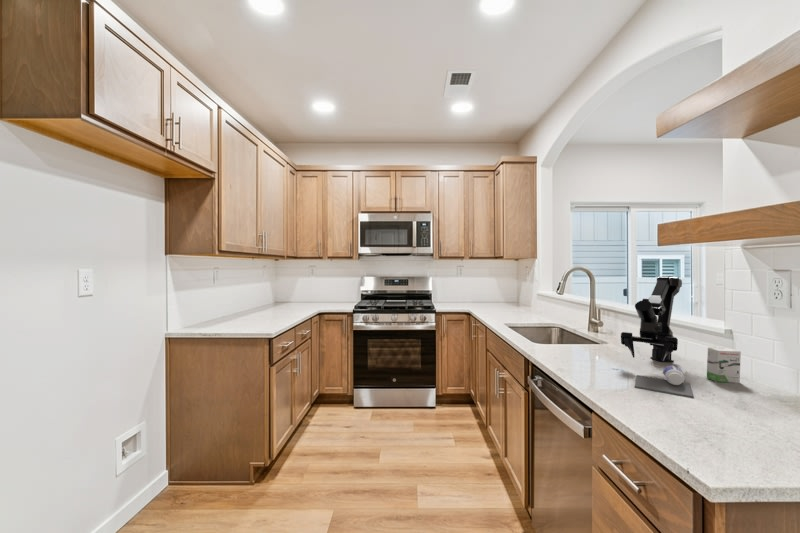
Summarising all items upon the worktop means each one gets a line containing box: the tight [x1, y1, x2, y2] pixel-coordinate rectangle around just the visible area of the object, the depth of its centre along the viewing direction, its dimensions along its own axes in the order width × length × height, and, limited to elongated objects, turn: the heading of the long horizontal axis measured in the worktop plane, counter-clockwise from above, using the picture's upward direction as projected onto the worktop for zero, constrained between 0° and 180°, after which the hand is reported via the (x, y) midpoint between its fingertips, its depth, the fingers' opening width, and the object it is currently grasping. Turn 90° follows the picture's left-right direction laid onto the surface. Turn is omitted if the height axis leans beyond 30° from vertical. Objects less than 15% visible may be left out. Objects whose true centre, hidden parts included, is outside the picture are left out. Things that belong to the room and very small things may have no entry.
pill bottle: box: [663, 364, 685, 385], centre depth 130 cm, size 5×5×10 cm
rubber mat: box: [634, 374, 695, 399], centre depth 128 cm, size 16×16×1 cm
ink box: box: [706, 346, 742, 384], centre depth 137 cm, size 9×5×12 cm, turn 87°
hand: (647, 359), depth 142 cm, fingers open, 9 cm apart
